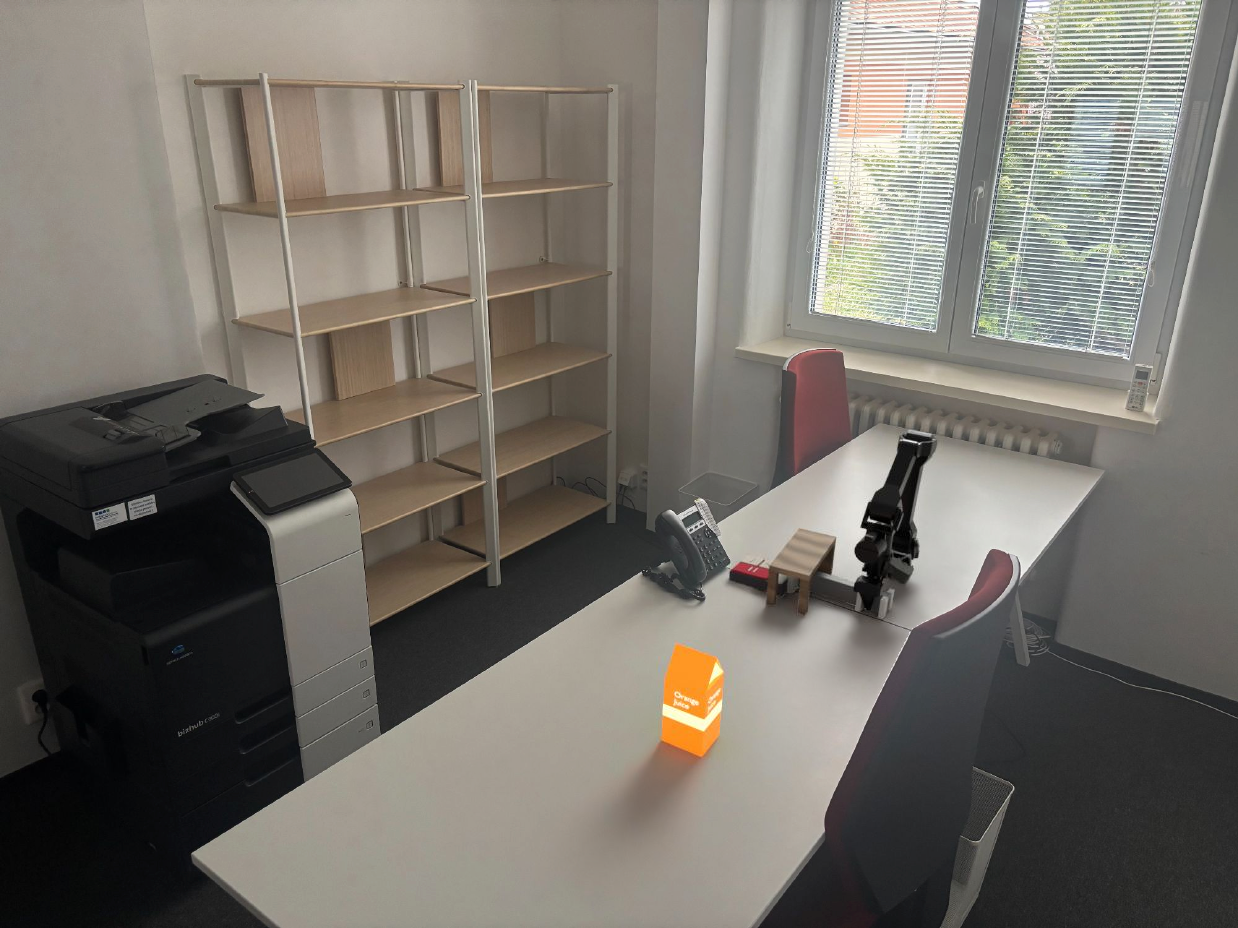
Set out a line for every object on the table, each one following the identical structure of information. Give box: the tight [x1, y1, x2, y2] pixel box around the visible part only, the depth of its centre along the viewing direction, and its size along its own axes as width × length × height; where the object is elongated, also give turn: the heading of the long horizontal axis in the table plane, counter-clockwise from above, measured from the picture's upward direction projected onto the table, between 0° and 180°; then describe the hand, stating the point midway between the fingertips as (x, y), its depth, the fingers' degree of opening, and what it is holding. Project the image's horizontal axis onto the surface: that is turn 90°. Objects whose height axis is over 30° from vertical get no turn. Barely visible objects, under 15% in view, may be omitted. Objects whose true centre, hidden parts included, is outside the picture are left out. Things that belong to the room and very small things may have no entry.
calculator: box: [728, 554, 788, 598], centre depth 227 cm, size 11×4×15 cm
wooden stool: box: [765, 527, 837, 616], centre depth 221 cm, size 24×10×11 cm, turn 152°
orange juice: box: [661, 642, 725, 758], centre depth 165 cm, size 8×9×20 cm
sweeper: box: [787, 571, 896, 620], centre depth 218 cm, size 10×24×5 cm, turn 56°
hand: (871, 603), depth 215 cm, fingers open, 7 cm apart
